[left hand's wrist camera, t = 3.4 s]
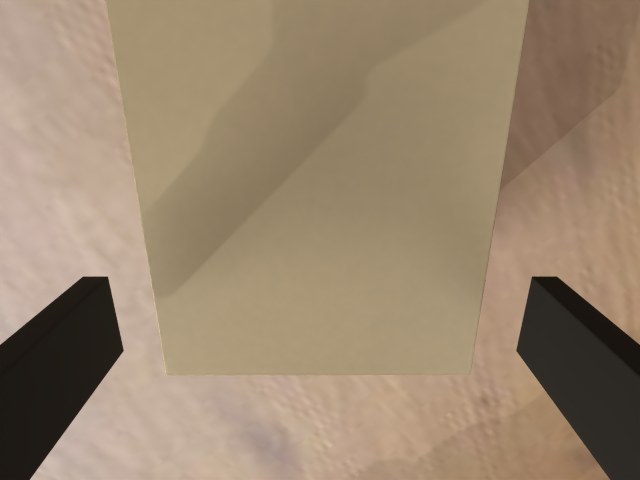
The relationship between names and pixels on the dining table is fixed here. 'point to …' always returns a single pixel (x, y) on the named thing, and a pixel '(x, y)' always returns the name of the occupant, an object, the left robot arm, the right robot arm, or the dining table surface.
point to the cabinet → (317, 177)
